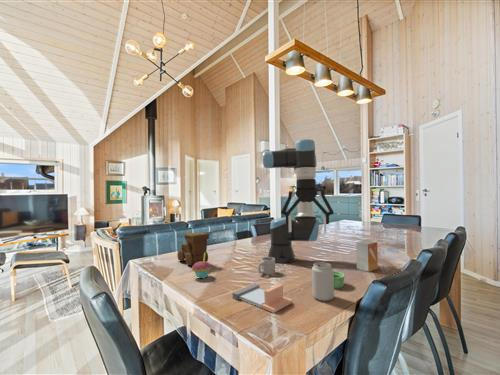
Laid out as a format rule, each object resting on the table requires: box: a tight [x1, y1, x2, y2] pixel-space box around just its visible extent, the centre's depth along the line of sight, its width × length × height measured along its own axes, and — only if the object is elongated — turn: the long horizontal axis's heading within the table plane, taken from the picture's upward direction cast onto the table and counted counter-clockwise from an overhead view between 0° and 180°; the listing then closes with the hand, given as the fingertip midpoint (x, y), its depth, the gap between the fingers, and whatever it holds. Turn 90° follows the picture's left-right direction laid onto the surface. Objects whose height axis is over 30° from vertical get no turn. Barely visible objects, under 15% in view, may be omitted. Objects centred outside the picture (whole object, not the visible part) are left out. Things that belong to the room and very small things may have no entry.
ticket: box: [232, 283, 266, 309], centre depth 92 cm, size 13×12×2 cm
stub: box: [261, 283, 293, 314], centre depth 85 cm, size 5×10×6 cm, turn 136°
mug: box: [257, 256, 276, 276], centre depth 119 cm, size 10×7×7 cm, turn 135°
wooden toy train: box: [176, 231, 210, 266], centre depth 140 cm, size 20×11×17 cm, turn 39°
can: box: [311, 261, 335, 302], centre depth 91 cm, size 8×8×12 cm
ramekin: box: [333, 270, 346, 289], centre depth 103 cm, size 9×9×4 cm
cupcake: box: [191, 253, 212, 279], centre depth 116 cm, size 9×8×12 cm
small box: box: [355, 240, 379, 273], centre depth 122 cm, size 8×6×13 cm
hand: (307, 232), depth 100 cm, fingers open, 13 cm apart
